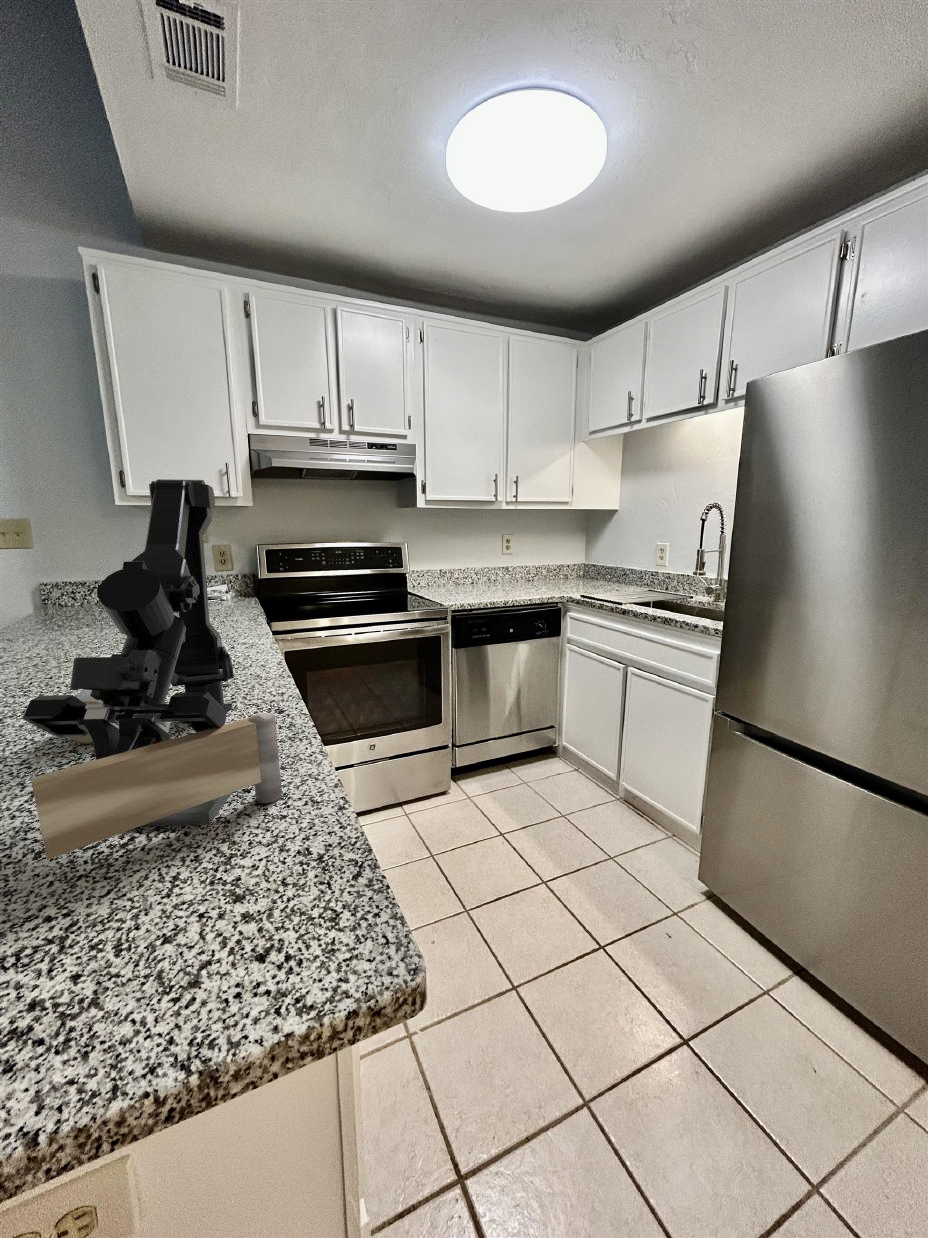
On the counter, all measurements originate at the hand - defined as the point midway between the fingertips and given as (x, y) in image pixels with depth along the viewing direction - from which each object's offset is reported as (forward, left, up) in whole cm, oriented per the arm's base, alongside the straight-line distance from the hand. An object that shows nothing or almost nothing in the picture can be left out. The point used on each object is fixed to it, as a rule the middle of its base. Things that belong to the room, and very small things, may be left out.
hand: (104, 794), depth 51 cm
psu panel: (-10, 0, -6) cm, 12 cm away
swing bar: (-3, +6, -6) cm, 9 cm away
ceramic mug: (-30, -18, -7) cm, 35 cm away
